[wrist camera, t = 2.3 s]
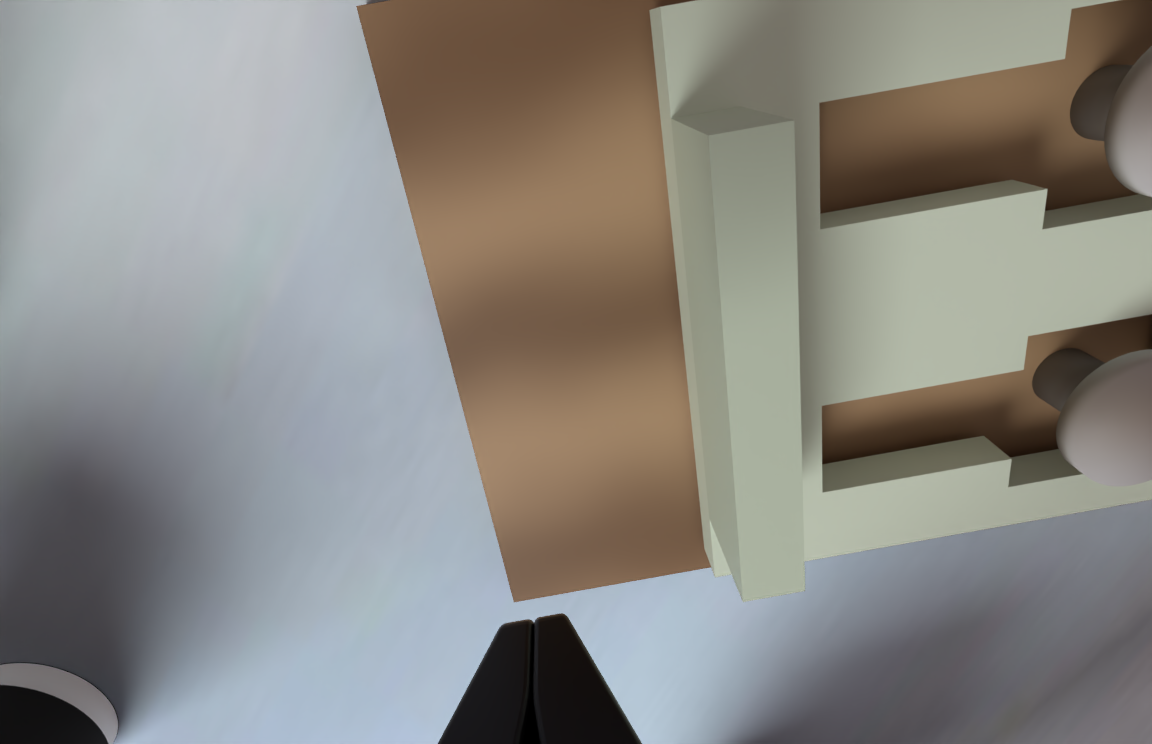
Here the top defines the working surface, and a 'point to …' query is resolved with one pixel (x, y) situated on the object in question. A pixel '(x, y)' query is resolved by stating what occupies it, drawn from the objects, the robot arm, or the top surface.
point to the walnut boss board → (648, 273)
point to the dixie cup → (52, 707)
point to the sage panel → (862, 279)
